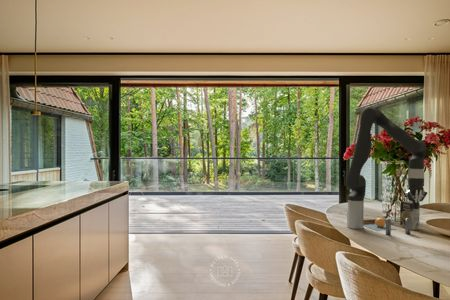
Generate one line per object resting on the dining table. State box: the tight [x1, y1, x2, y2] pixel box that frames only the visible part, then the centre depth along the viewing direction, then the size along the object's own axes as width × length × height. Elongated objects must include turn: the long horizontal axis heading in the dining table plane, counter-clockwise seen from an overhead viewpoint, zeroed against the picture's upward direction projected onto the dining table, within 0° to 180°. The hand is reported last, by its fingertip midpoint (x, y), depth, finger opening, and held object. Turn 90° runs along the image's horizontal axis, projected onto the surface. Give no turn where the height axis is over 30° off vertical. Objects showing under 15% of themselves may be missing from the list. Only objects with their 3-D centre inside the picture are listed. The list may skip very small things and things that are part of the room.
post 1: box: [385, 218, 392, 236], centre depth 188 cm, size 3×3×9 cm
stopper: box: [363, 218, 377, 225], centre depth 216 cm, size 2×18×2 cm, turn 102°
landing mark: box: [363, 224, 397, 232], centre depth 206 cm, size 14×14×1 cm
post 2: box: [404, 218, 412, 235], centre depth 190 cm, size 3×3×9 cm
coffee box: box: [399, 200, 421, 230], centre depth 206 cm, size 9×6×16 cm
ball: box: [375, 217, 386, 227], centre depth 206 cm, size 6×6×6 cm
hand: (415, 209), depth 176 cm, fingers closed
